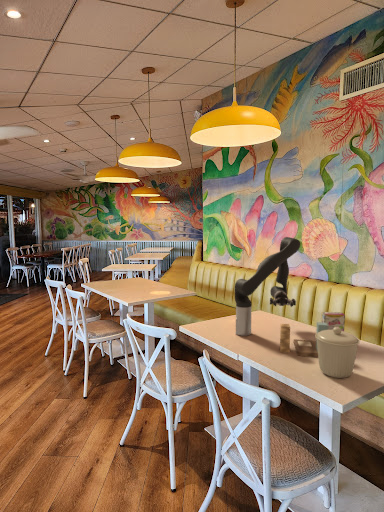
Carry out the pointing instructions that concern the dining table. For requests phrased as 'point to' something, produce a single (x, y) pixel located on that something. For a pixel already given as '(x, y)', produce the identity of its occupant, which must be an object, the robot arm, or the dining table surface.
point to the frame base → (309, 343)
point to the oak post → (284, 338)
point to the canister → (336, 352)
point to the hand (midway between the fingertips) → (283, 304)
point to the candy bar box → (334, 320)
